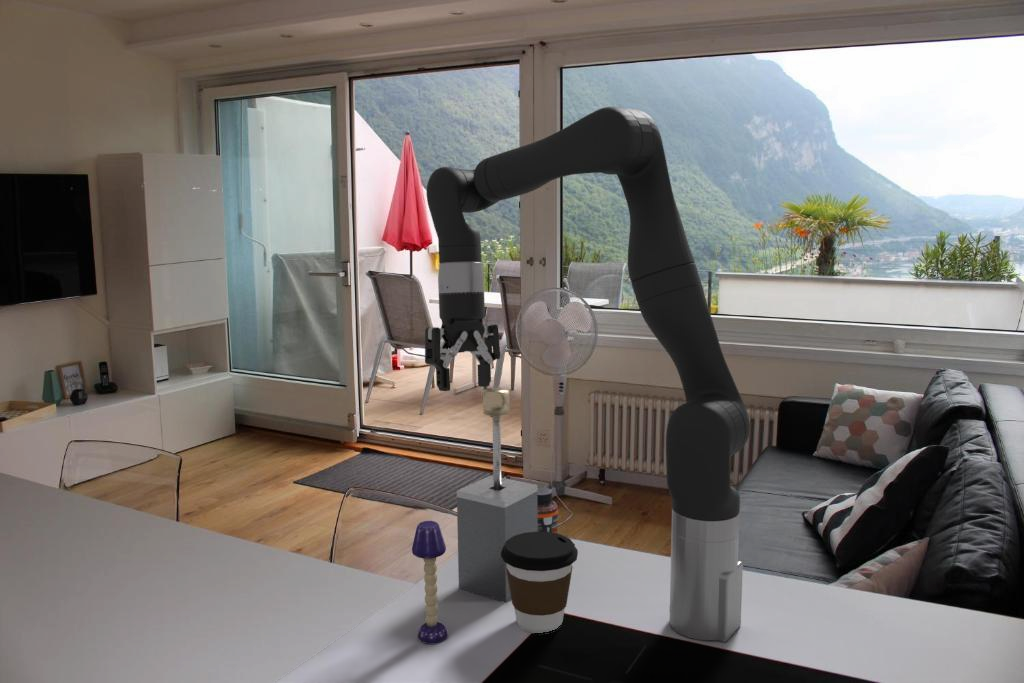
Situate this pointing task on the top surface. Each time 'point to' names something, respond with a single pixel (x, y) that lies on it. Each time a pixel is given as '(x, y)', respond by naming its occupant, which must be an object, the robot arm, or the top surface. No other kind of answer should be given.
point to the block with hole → (491, 532)
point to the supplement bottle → (547, 511)
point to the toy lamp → (430, 578)
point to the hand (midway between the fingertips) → (464, 388)
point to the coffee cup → (539, 578)
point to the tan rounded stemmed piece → (496, 425)
